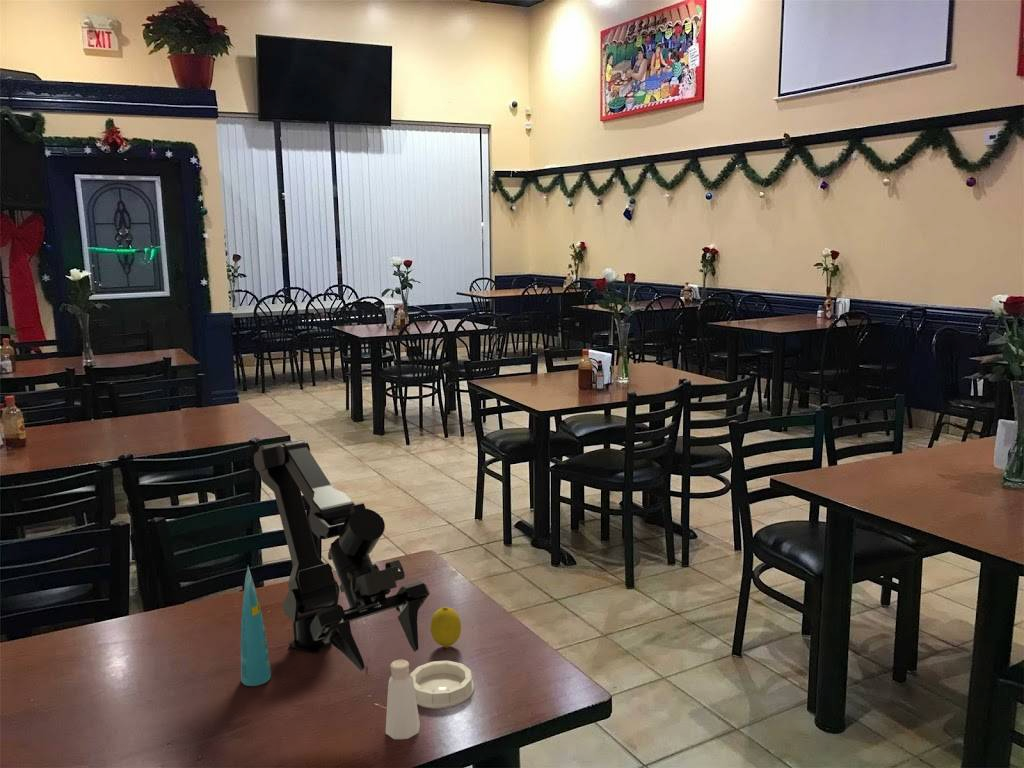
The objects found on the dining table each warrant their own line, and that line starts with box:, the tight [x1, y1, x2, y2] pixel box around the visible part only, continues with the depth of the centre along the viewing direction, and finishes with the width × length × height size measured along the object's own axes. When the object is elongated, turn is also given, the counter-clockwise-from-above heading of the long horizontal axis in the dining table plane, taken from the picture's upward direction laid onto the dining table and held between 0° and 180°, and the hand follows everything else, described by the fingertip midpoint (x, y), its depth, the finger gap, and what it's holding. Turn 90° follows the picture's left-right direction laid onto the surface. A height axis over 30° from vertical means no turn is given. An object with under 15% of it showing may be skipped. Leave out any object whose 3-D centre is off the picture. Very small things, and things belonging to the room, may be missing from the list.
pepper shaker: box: [385, 659, 421, 740], centre depth 123 cm, size 5×5×11 cm
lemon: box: [430, 605, 462, 649], centre depth 148 cm, size 6×6×8 cm
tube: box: [240, 565, 272, 687], centre depth 137 cm, size 7×5×19 cm, turn 26°
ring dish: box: [409, 660, 475, 710], centre depth 134 cm, size 11×11×2 cm
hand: (390, 659), depth 124 cm, fingers open, 9 cm apart
